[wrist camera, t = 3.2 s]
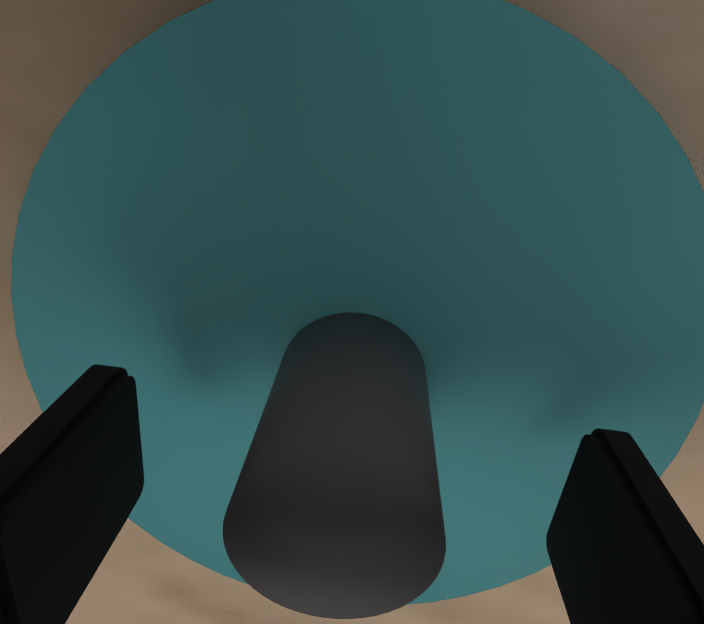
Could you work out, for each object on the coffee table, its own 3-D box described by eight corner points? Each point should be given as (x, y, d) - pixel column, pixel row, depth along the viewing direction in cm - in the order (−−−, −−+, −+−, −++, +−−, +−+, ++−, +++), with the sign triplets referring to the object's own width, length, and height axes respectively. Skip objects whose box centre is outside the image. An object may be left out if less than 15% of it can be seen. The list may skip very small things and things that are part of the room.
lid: (-34, -67, 10) (-499, -218, 5) (848, 31, 10) (1381, -13, 5) (77, 547, 17) (-59, 754, 12) (583, 612, 17) (668, 854, 12)
